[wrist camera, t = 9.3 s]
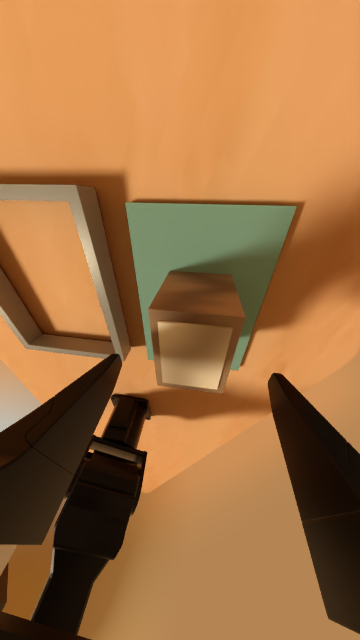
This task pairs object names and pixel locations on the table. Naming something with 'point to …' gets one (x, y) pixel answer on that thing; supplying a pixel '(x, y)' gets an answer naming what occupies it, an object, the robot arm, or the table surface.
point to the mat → (208, 251)
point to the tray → (94, 242)
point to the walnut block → (195, 330)
